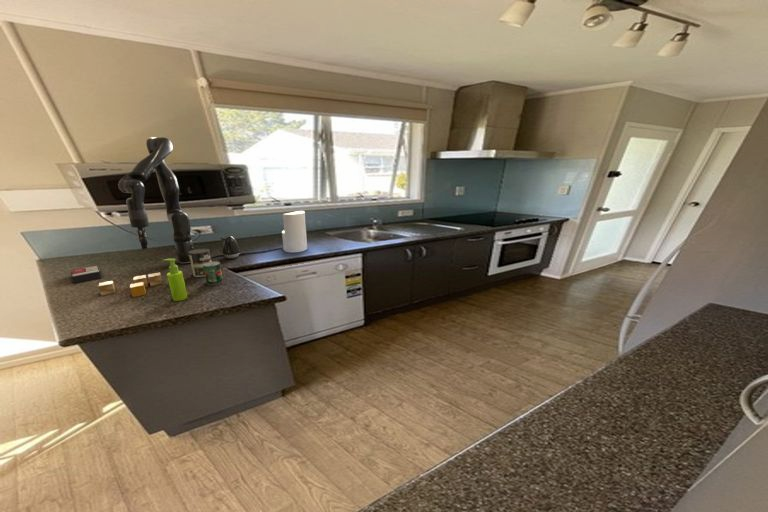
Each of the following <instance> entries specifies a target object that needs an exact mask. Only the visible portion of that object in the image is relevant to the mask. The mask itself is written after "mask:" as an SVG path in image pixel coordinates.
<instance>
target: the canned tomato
mask: <svg viewBox="0 0 768 512" xmlns="http://www.w3.org/2000/svg"><path fill="white" fill-rule="evenodd" d="M203 267H204V273H205V276H204V277H205V283H206V285H207V286H217V285H220V284H222V283H223V282H224V279H223V273H222V272H223V271H222V267H221V262H220V261H217V260H211V262H207V263H204V264H203Z"/></svg>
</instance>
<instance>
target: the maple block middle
mask: <svg viewBox="0 0 768 512" xmlns="http://www.w3.org/2000/svg"><path fill="white" fill-rule="evenodd" d="M132 281H133V284H135V283H140V282H144V286H145V288H147V287H149V280H148V276H147V275H146V274H143V275H136V276H133V279H132Z"/></svg>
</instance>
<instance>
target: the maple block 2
mask: <svg viewBox="0 0 768 512" xmlns="http://www.w3.org/2000/svg"><path fill="white" fill-rule="evenodd" d="M147 279H148V283H149V286H150V287H153V286H158V285H162V284H163V278H162V275H161V272H154V273H148V274H147Z"/></svg>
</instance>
